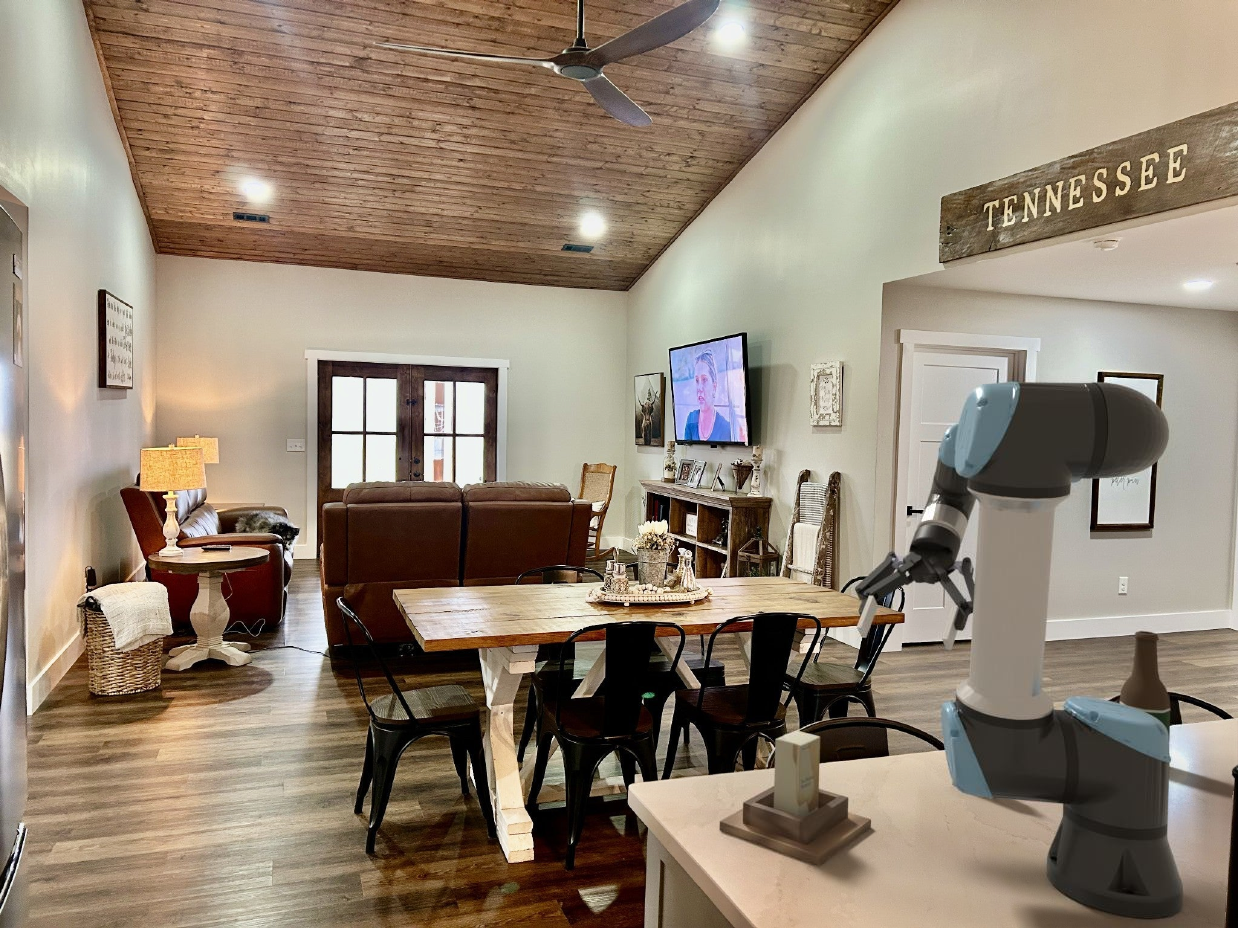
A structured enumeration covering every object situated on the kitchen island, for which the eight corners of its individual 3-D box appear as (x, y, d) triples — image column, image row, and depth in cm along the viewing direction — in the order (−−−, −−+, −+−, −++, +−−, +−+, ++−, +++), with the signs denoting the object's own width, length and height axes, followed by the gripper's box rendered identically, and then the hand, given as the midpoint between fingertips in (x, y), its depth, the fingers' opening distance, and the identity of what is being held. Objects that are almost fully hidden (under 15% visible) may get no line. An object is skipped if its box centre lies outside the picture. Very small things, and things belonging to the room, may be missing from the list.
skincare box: (798, 831, 122) (800, 745, 122) (772, 822, 125) (773, 738, 125) (820, 817, 127) (821, 735, 127) (794, 808, 130) (795, 728, 130)
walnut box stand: (870, 827, 127) (871, 798, 126) (818, 865, 114) (819, 833, 114) (776, 797, 137) (776, 771, 137) (719, 829, 125) (720, 800, 125)
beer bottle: (1168, 763, 156) (1171, 631, 155) (1169, 776, 149) (1172, 638, 149) (1119, 754, 160) (1122, 626, 160) (1117, 766, 153) (1120, 633, 153)
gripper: (1020, 557, 139) (991, 665, 128) (874, 547, 155) (835, 641, 144) (1011, 526, 135) (980, 634, 124) (862, 518, 151) (821, 613, 140)
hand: (902, 638), depth 134 cm, fingers open, 13 cm apart
